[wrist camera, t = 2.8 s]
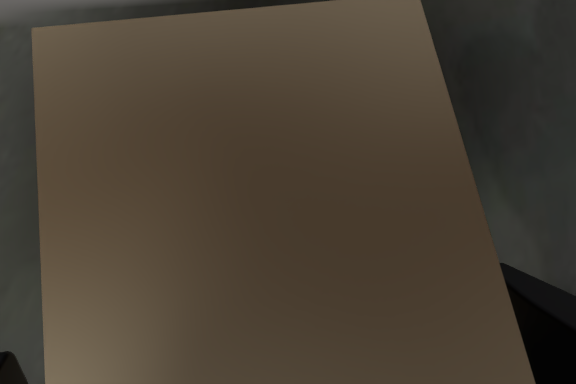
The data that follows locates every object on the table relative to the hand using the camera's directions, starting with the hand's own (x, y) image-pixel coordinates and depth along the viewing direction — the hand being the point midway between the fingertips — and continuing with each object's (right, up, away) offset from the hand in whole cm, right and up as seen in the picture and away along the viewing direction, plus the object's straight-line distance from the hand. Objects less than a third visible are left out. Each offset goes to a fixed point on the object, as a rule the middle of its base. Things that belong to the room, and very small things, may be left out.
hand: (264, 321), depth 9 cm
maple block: (-1, -2, +9) cm, 9 cm away
